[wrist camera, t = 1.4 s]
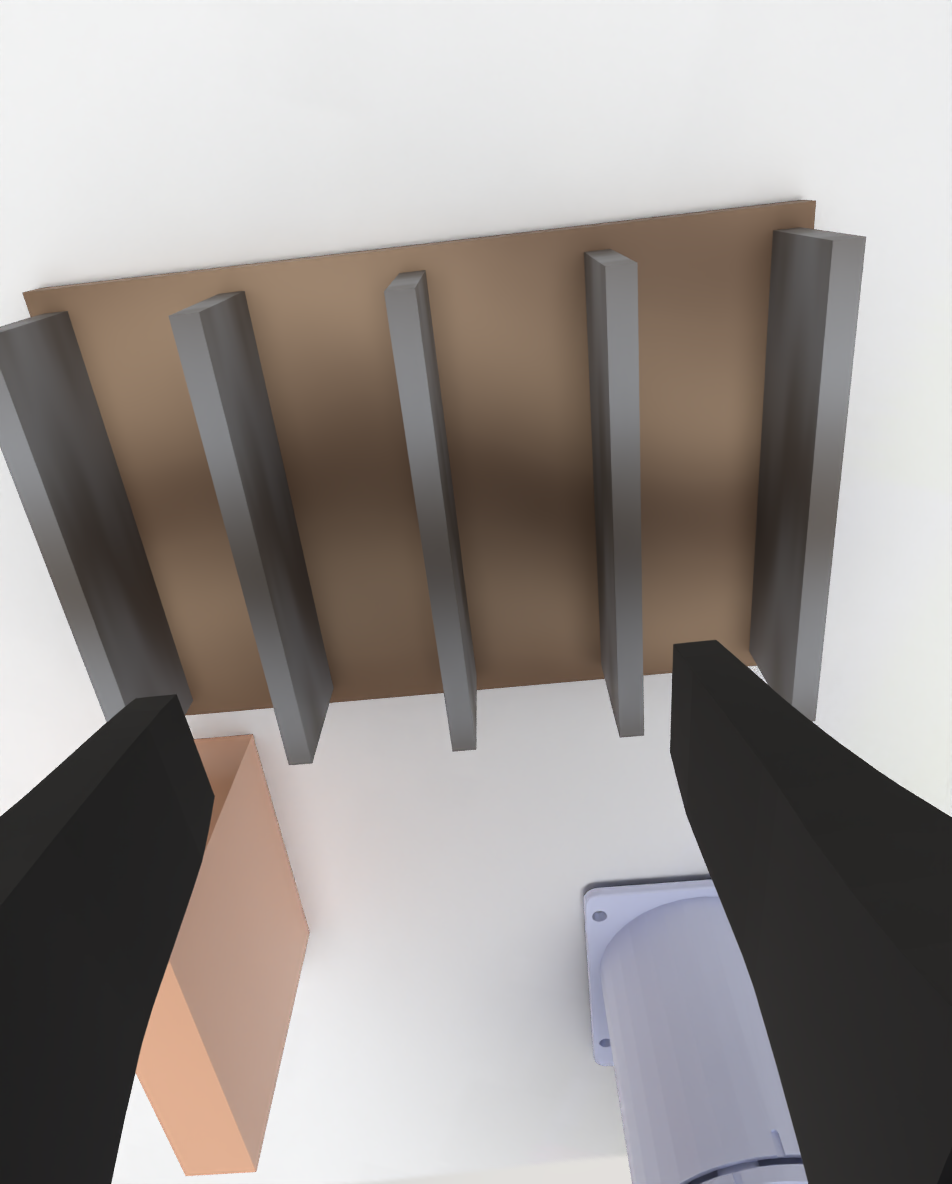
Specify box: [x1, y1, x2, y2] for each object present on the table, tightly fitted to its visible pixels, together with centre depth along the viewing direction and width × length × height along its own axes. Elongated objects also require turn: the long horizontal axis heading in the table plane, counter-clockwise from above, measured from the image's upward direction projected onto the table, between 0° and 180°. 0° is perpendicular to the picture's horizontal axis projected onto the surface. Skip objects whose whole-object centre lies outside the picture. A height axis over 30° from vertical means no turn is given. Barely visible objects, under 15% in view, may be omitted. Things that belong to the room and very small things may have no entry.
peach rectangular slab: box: [136, 734, 310, 1176], centre depth 24 cm, size 9×2×8 cm, turn 6°
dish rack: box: [0, 200, 866, 765], centre depth 20 cm, size 12×18×4 cm, turn 96°
